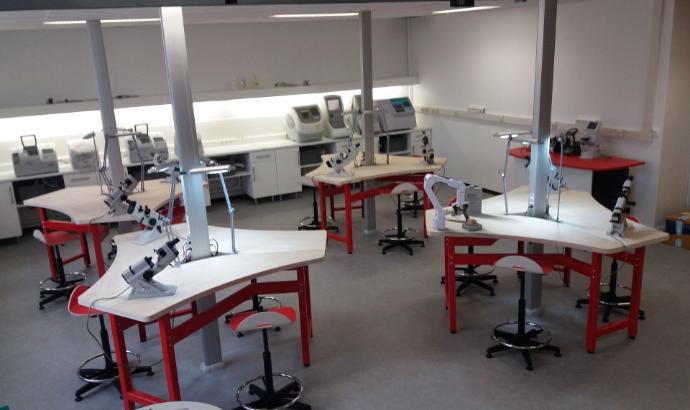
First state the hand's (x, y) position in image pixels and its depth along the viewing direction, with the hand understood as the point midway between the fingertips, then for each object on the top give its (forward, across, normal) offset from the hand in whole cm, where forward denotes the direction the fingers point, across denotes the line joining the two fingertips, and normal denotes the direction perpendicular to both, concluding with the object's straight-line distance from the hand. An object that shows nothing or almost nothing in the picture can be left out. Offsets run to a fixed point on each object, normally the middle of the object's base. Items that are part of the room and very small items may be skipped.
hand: (460, 214), depth 445 cm
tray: (+10, +6, -8) cm, 14 cm away
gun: (+11, +6, +20) cm, 23 cm away
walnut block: (+10, +6, -8) cm, 14 cm away
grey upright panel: (+11, +30, +29) cm, 43 cm away
